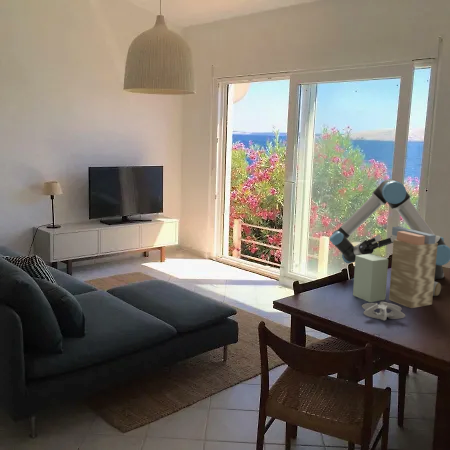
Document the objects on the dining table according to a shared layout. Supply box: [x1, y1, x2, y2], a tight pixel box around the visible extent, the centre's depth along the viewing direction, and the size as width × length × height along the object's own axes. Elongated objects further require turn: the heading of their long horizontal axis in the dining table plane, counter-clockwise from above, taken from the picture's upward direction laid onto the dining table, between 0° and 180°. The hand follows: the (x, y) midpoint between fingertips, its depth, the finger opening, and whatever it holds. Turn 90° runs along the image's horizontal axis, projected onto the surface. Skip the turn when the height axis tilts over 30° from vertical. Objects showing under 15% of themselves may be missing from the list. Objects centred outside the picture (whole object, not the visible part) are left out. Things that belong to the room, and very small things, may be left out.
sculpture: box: [361, 301, 406, 321], centre depth 233 cm, size 18×20×6 cm
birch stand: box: [388, 240, 438, 309], centre depth 253 cm, size 14×14×30 cm
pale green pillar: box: [352, 253, 389, 303], centre depth 259 cm, size 12×10×20 cm
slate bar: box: [391, 226, 437, 244], centre depth 256 cm, size 24×4×4 cm, turn 26°
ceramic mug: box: [433, 280, 442, 297], centre depth 268 cm, size 11×8×8 cm
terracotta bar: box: [397, 231, 425, 245], centre depth 248 cm, size 13×4×4 cm, turn 28°
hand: (390, 236), depth 268 cm, fingers open, 13 cm apart
